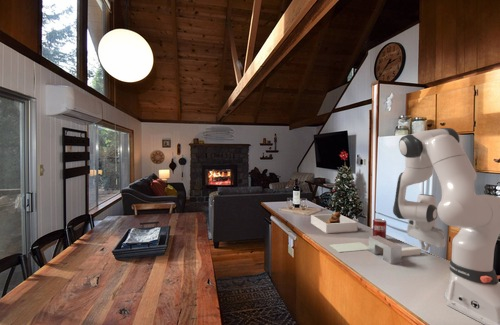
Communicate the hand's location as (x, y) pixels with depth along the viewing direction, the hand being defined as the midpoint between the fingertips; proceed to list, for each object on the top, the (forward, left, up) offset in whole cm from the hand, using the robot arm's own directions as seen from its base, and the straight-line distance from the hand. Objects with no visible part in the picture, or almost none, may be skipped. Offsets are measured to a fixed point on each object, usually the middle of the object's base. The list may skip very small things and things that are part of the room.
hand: (424, 249), depth 133 cm
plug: (0, +12, -2) cm, 13 cm away
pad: (+14, +35, -2) cm, 38 cm away
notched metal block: (0, +25, -2) cm, 25 cm away
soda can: (+22, +10, -2) cm, 24 cm away
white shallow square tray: (+50, +25, -2) cm, 56 cm away
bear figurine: (+47, +26, -2) cm, 54 cm away
